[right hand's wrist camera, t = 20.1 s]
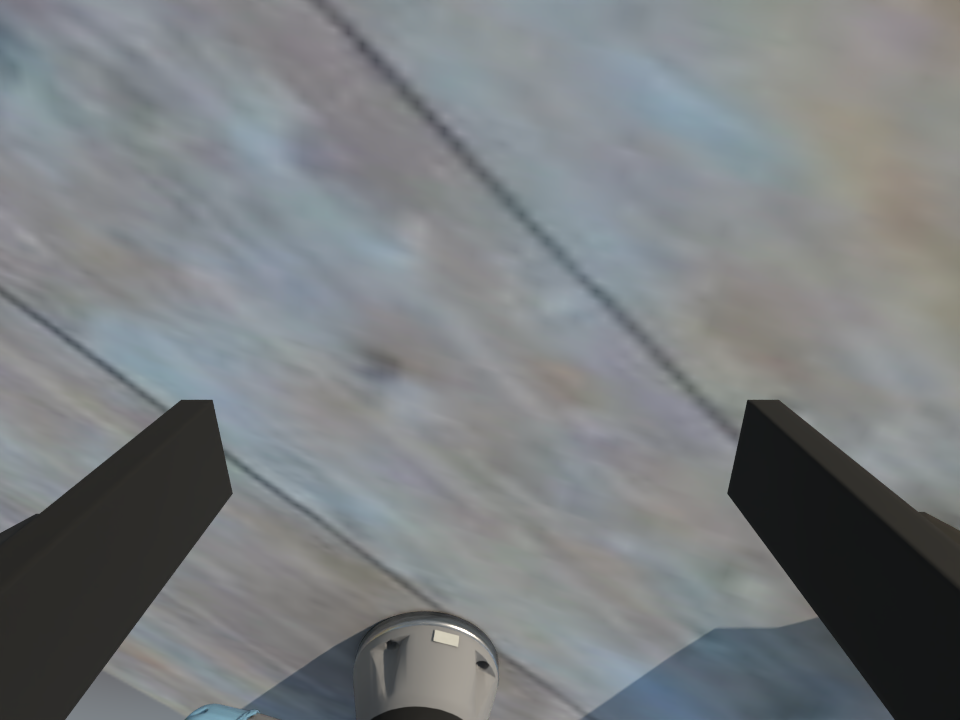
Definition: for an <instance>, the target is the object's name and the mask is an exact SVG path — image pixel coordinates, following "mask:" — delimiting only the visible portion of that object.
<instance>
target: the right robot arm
mask: <svg viewBox="0 0 960 720" xmlns="http://www.w3.org/2000/svg"><path fill="white" fill-rule="evenodd" d="M232 494H233V493H232V488H231V484H230V479H229V474H228V470H227V465H226V460H225V456H224V451H223V446H222V442H221V437H220V432H219V428H218V423H217V418H216V414H215V409H214V404H213V400H181V401H179V402H178V403H177V404H176V405H174V406H173V407H172V408H171V409H169V410H168V411H167V412H166V413H164V414H163V415H162V416H161V417H159V418H158V419H157V420H156V421H154V422H153V423H152V424H151V425H149V426H148V427H147V428H146V429H145V430H143V431H142V432H141V433H140V434H138V435H137V436H136V437H135V438H133V439H132V440H131V441H130V442H128V443H127V444H126V445H125V446H123V447H122V448H121V449H120V450H118V451H117V452H116V453H115V454H113V455H112V456H111V457H110V458H108V459H107V460H106V461H105V462H103V463H102V464H101V465H100V466H99V467H97V468H96V469H95V470H94V471H92V472H91V473H90V474H89V475H87V476H86V477H85V478H84V479H82V480H81V481H80V482H79V483H77V484H76V485H75V486H74V487H72V488H71V489H70V490H69V491H67V492H66V493H65V494H64V495H62V496H61V497H60V498H59V499H57V500H56V501H55V502H54V503H53V504H51V505H50V506H49V507H48V508H46V509H45V510H44V511H43V512H41V513H40V514H35V515H33V516H31V517H29V518H28V519H26V520H24V521H22V522H20V523H18V524H16V525H15V526H13V527H11V528H9V529H7V530H5V531H3V532H1V533H0V720H65V719H66V718H67V716H68V715H69V714H70V712H71V711H72V710H73V708H74V707H75V706H76V704H77V703H78V702H79V700H80V699H81V698H82V696H83V695H84V694H85V692H86V691H87V689H88V688H89V687H90V685H91V684H92V683H93V681H94V680H95V679H96V677H97V676H98V675H99V673H100V672H101V671H102V669H103V668H104V667H105V665H106V664H107V662H108V661H109V660H110V658H111V657H112V656H113V654H114V653H115V652H116V650H117V649H118V648H119V646H120V645H121V644H122V642H123V641H124V640H125V638H126V637H127V635H128V634H129V633H130V631H131V630H132V629H133V627H134V626H135V625H136V623H137V622H138V621H139V619H140V618H141V617H142V615H143V614H144V613H145V611H146V610H147V608H148V607H149V606H150V604H151V603H152V602H153V600H154V599H155V598H156V596H157V595H158V594H159V592H160V591H161V590H162V588H163V587H164V586H165V584H166V583H167V581H168V580H169V579H170V577H171V576H172V575H173V573H174V572H175V571H176V569H177V568H178V567H179V565H180V564H181V563H182V561H183V560H184V559H185V557H186V556H187V554H188V553H189V552H190V550H191V549H192V548H193V546H194V545H195V544H196V542H197V541H198V540H199V538H200V537H201V536H202V534H203V533H204V532H205V530H206V529H207V527H208V526H209V525H210V523H211V522H212V521H213V519H214V518H215V517H216V515H217V514H218V513H219V511H220V510H221V509H222V507H223V506H224V505H225V503H226V502H227V500H228V499H229V498H230V496H231V495H232ZM727 494H728V495H729V496H730V498H731V499H732V500H733V502H734V503H735V505H736V506H737V507H738V509H739V510H740V511H741V513H742V514H743V515H744V517H745V518H746V519H747V521H748V522H749V523H750V525H751V526H752V527H753V529H754V530H755V532H756V533H757V534H758V536H759V537H760V538H761V540H762V541H763V542H764V544H765V545H766V546H767V548H768V549H769V550H770V552H771V553H772V554H773V556H774V557H775V559H776V560H777V561H778V563H779V564H780V565H781V567H782V568H783V569H784V571H785V572H786V573H787V575H788V576H789V577H790V579H791V580H792V581H793V583H794V584H795V586H796V587H797V588H798V590H799V591H800V592H801V594H802V595H803V596H804V598H805V599H806V600H807V602H808V603H809V604H810V606H811V607H812V608H813V610H814V611H815V613H816V614H817V615H818V617H819V618H820V619H821V621H822V622H823V623H824V625H825V626H826V627H827V629H828V630H829V631H830V633H831V634H832V635H833V637H834V638H835V640H836V641H837V642H838V644H839V645H840V646H841V648H842V649H843V650H844V652H845V653H846V654H847V656H848V657H849V658H850V660H851V661H852V662H853V664H854V665H855V667H856V668H857V669H858V671H859V672H860V673H861V675H862V676H863V677H864V679H865V680H866V681H867V683H868V684H869V685H870V687H871V688H872V689H873V691H874V692H875V694H876V695H877V696H878V698H879V699H880V700H881V702H882V703H883V704H884V706H885V707H886V708H887V710H888V711H889V712H890V714H891V715H892V716H893V718H894V719H895V720H960V531H959V530H957V529H955V528H953V527H952V526H950V525H948V524H946V523H944V522H942V521H940V520H938V519H936V518H935V517H933V516H931V515H929V514H927V513H925V512H917V511H916V510H915V509H914V508H912V507H911V506H910V505H909V504H907V503H906V502H905V501H904V500H903V499H901V498H900V497H899V496H898V495H896V494H895V493H894V492H893V491H891V490H890V489H889V488H888V487H886V486H885V485H884V484H883V483H881V482H880V481H879V480H878V479H876V478H875V477H874V476H873V475H871V474H870V473H869V472H868V471H866V470H865V469H864V468H863V467H861V466H860V465H859V464H858V463H857V462H855V461H854V460H853V459H852V458H850V457H849V456H848V455H847V454H845V453H844V452H843V451H842V450H840V449H839V448H838V447H837V446H835V445H834V444H833V443H832V442H830V441H829V440H828V439H827V438H825V437H824V436H823V435H822V434H820V433H819V432H818V431H817V430H815V429H814V428H813V427H812V426H811V425H809V424H808V423H807V422H806V421H804V420H803V419H802V418H801V417H799V416H798V415H797V414H796V413H794V412H793V411H792V410H791V409H789V408H788V407H787V406H786V405H784V404H783V403H782V402H781V401H779V400H747V404H746V409H745V414H744V418H743V423H742V428H741V432H740V437H739V442H738V446H737V451H736V456H735V460H734V465H733V470H732V474H731V479H730V484H729V488H728V493H727ZM498 681H499V672H498V657H497V653H496V650H495V648H494V646H493V644H492V642H491V641H490V639H489V638H488V637H487V636H486V635H485V634H484V633H483V632H482V631H481V630H480V629H479V628H477V627H476V626H474V625H473V624H471V623H469V622H468V621H466V620H463V619H461V618H458V617H456V616H452V615H449V614H444V613H439V612H426V611H424V612H410V613H405V614H401V615H397V616H394V617H391V618H389V619H387V620H385V621H383V622H381V623H379V624H378V625H376V626H375V627H374V628H372V629H371V630H370V631H369V632H368V633H367V634H366V635H365V637H364V638H363V640H362V641H361V643H360V645H359V648H358V651H357V655H356V659H355V663H354V667H353V686H354V697H355V709H356V720H488V719H489V715H490V712H491V709H492V705H493V702H494V698H495V695H496V692H497V687H498ZM185 720H280V719H277V718H273V717H270V716H267V715H264V714H260V712H259V711H258V710H255V709H253V710H250V711H247V710H242V709H237V708H233V707H229V706H225V705H220V704H208V705H205V706H202V707H200V708H198V709H197V710H195V711H194V712H192V713H191V714H190V715H189V716H188V717H187V718H186V719H185Z"/></svg>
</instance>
